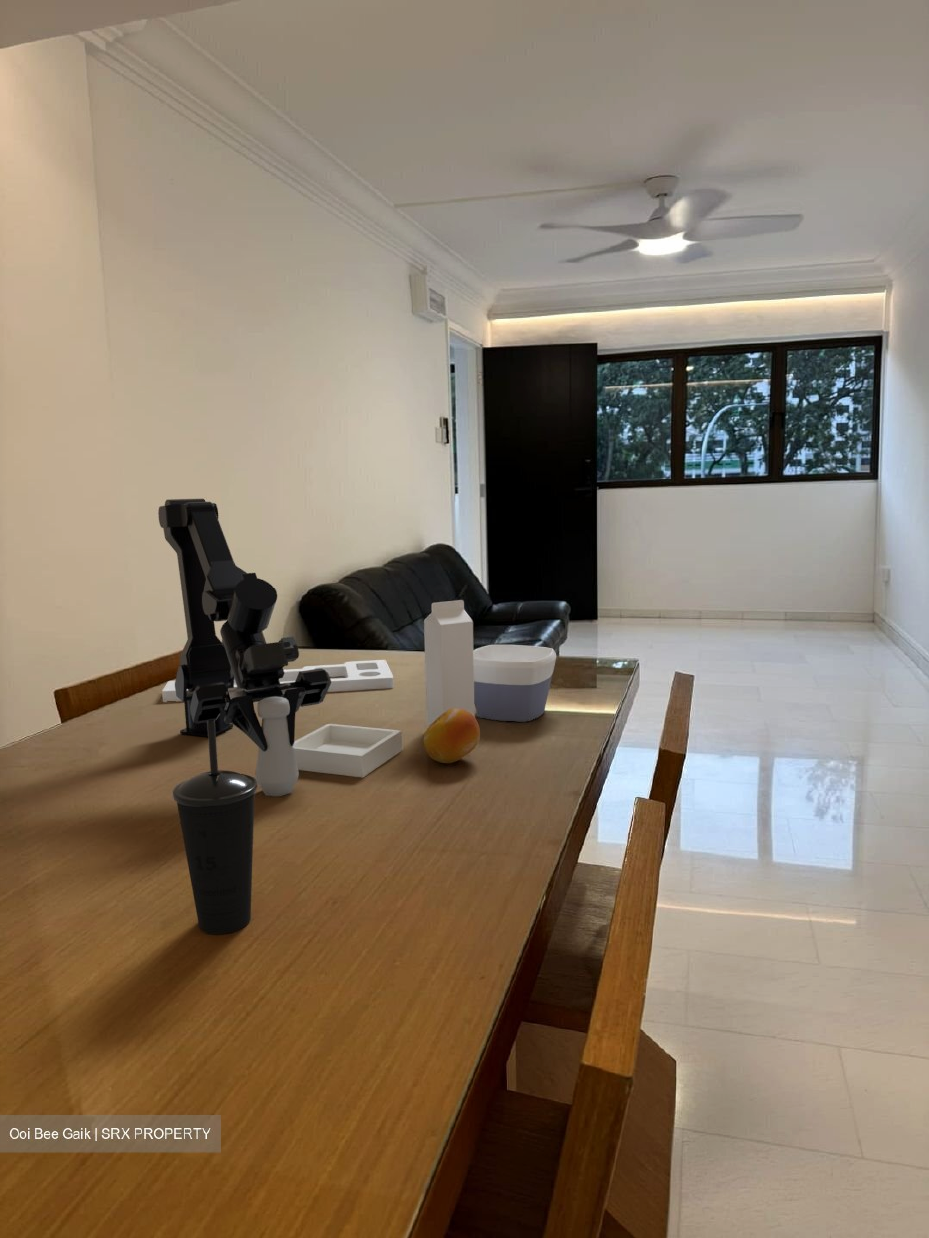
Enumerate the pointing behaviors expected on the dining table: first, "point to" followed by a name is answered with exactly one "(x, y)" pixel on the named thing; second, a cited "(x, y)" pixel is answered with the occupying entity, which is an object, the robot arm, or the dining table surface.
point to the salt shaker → (276, 749)
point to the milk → (448, 659)
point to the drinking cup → (218, 842)
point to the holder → (356, 673)
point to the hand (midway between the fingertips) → (279, 747)
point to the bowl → (512, 681)
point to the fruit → (452, 736)
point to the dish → (346, 749)
